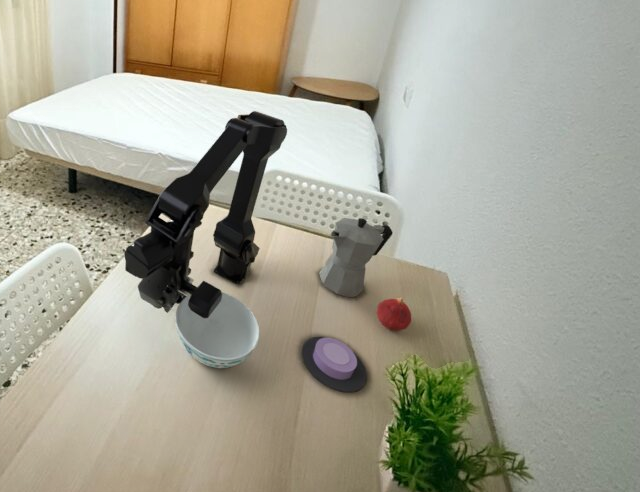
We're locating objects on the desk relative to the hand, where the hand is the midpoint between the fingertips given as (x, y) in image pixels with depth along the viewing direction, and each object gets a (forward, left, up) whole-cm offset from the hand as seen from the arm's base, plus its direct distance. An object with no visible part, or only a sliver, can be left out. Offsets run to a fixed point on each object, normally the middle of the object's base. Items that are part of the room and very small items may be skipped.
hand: (167, 310), depth 81 cm
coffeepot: (+26, +36, -3) cm, 45 cm away
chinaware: (+10, 0, -3) cm, 11 cm away
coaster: (+29, +12, -3) cm, 32 cm away
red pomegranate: (+36, +28, -3) cm, 46 cm away
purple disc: (+29, +12, -3) cm, 32 cm away
